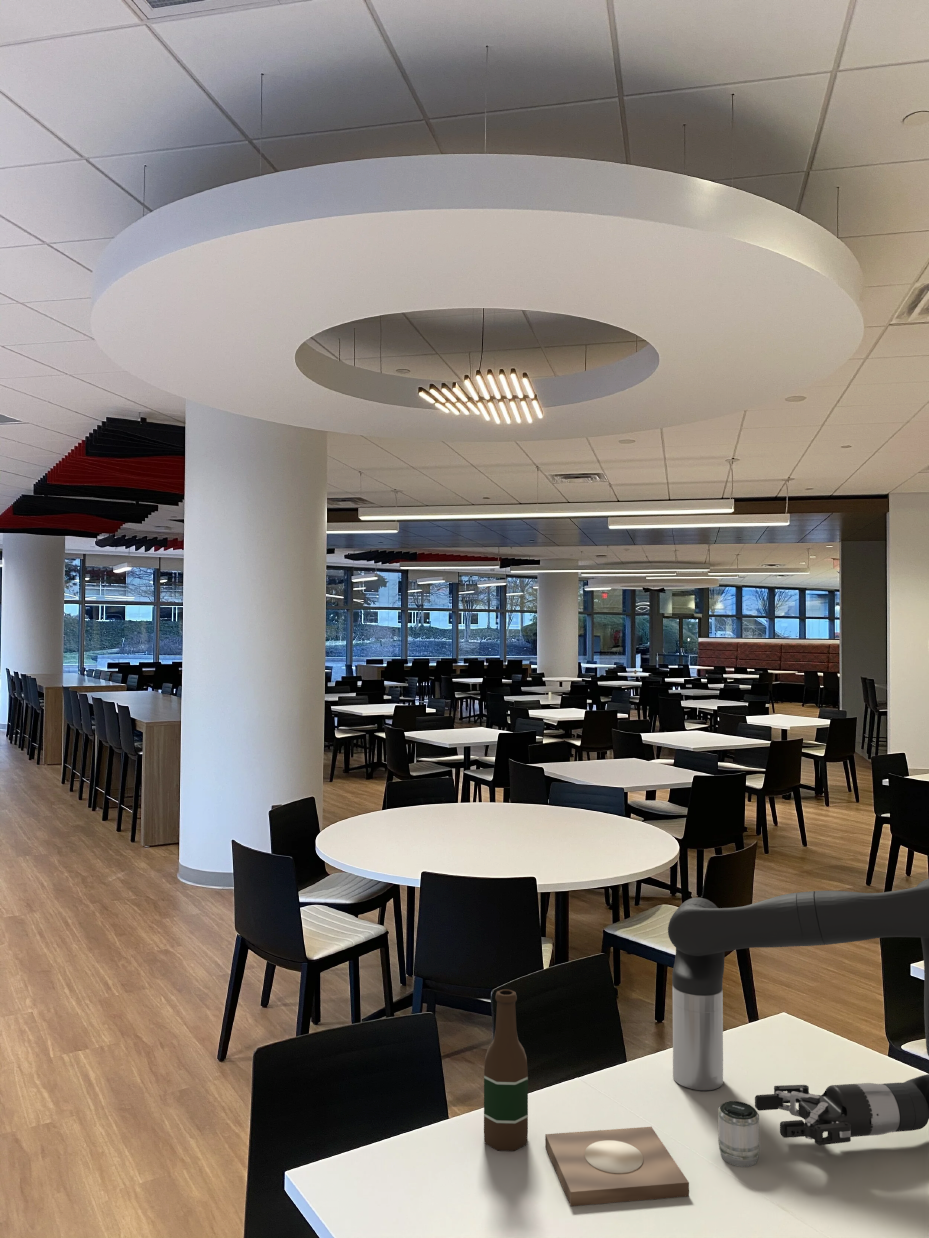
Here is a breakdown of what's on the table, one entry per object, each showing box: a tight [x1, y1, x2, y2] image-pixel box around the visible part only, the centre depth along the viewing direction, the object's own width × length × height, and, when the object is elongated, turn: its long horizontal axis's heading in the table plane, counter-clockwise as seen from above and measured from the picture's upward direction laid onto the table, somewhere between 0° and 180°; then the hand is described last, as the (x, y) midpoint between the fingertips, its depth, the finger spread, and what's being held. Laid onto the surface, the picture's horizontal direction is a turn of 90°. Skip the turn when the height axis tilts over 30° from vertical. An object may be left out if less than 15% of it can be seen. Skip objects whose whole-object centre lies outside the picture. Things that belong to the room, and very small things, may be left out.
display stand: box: [544, 1126, 690, 1207], centre depth 140 cm, size 16×18×2 cm
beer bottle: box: [483, 989, 529, 1152], centre depth 149 cm, size 8×8×24 cm
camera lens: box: [717, 1100, 760, 1168], centre depth 144 cm, size 6×6×8 cm
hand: (768, 1115), depth 145 cm, fingers open, 8 cm apart
